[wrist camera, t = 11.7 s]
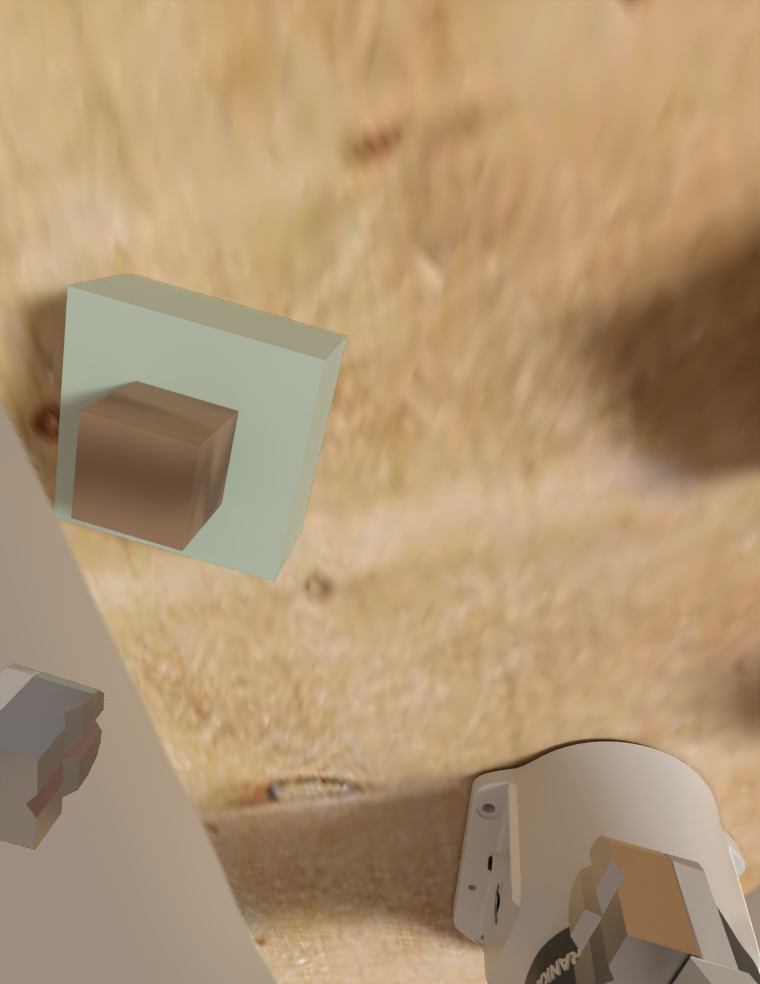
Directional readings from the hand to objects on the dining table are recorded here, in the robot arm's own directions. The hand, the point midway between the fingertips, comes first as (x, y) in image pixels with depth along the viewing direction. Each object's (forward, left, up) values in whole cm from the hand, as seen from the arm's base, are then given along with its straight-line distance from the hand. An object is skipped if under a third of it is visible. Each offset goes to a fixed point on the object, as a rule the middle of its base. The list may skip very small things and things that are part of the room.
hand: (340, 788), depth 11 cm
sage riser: (-5, +11, -27) cm, 30 cm away
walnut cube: (-5, +11, -21) cm, 24 cm away
